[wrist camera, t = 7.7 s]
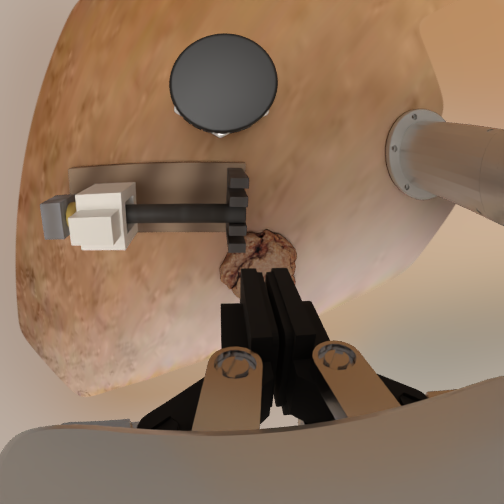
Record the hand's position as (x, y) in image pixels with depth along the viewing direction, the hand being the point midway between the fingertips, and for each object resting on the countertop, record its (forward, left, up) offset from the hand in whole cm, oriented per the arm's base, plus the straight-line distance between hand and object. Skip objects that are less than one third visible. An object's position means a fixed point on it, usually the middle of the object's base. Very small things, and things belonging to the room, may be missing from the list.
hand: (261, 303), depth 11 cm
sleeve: (+12, +2, -21) cm, 24 cm away
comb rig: (+9, +2, -26) cm, 27 cm away
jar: (+1, -10, -26) cm, 28 cm away
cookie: (-4, +11, -26) cm, 29 cm away
